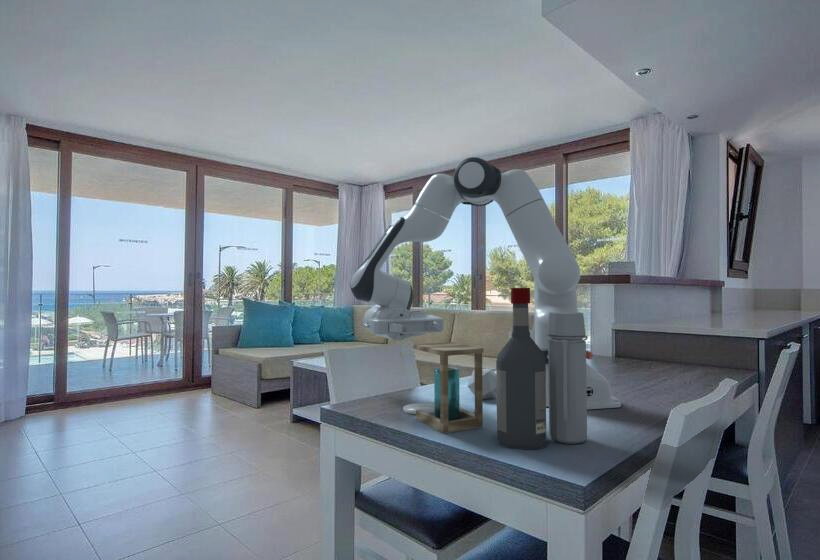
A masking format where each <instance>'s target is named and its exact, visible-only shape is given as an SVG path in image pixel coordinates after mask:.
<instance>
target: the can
mask: <svg viewBox="0 0 820 560" xmlns="http://www.w3.org/2000/svg"><path fill="white" fill-rule="evenodd" d="M433 370H434V371H433V373H434V376H433V377H434V378H433V379H434V381H433V382H434V383H433V385H434V389H433V390H434V394H433V395H434V396H433V397H434V406H435V414H434V416H435V417H437V418H439V419H440V365H439V366H435V367H434V369H433ZM460 396H461V395H460V367H458V366H454V365H448V421H452V420H459V419H460V409H461V404H460V401H461V400H460Z"/></svg>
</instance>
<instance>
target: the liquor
mask: <svg viewBox="0 0 820 560" xmlns="http://www.w3.org/2000/svg"><path fill="white" fill-rule="evenodd" d="M510 304H512V331H511V337H510V338H509V339H508V341H507V342H506V343H505V344H504V346H503V347H502V348H501V350H500V352H499V353H498V355H497V357H496V362H495V366H496V367H495V368H496V369H495V370H496V371H495V374H496V385H497V396H496V440H497V442H498V444H499V445H501V446H504V447H505V448H508V449H519V450H520V449H521V450H531V451H535V450H539V449H544V448H545V447H546V445H547V406H546V362H545V357H544V354H543V352H542V351H541V349H540V348H539V347H538V346H537V344H536V343H535V340H533V338H532V337H531V332H530V325H529V323H530V322H529V321H530V319H529V316H530V315H529V305H530V304H531V287H511V288H510Z"/></svg>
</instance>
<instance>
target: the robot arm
mask: <svg viewBox="0 0 820 560" xmlns="http://www.w3.org/2000/svg"><path fill="white" fill-rule="evenodd" d="M455 167H456V168H455V169H454V173H453V175H449V174H446V173H435V174H432V176H431V177H430V178H429V179H428V180H427V181H426V183H425V185H424V186H423V188H422V189H421V191H420V193H419V194H418V196H417V198H416V200H415V203H414V204H413V206H412V207H411V209H410V210H409V212H407V213H406V214H405V215H404V216H401V217H400V216H399V217H397V218H395V219H394V220H393V221H392V222H391V223H390V224H389V226H388V227H387V228H386V230H385V231H384V233H383V234H382V236H381V237H380V238H379V240H378V241H377V243H375V245H374V247H373V249H372V250H371V251H370V253H369V255H368V256H367V257H366V258H365V260H364V261H363V263H362V264H361V265H360V266H359V267H358V268H357V269H356V270H355V272H354V273H353V275H352V277H351V280H350V283H349V288H350V291H351V293H352V295H353V296H354V298H355V299H356V300H358V301H362V302H367V303H370V304H374V305H373V307H371V308H368V310H366V311H365V313H364V315H363V328H365V329H367V331H368V332H369V333H370V334H373V335H374V336H377V337H379V338H380V337H381V338H385V339H388V340H393V341H398V342H399V341H403V340H405V339H409V338H412V337H418V336H423V335H426V334H430V333H431V334H432V333H433V334H435V333H442V332H444V330H445V329H444V326H445V321H444V319H443V317H440V316H437V315H432V314H427V313H426V311H420V310H417V311H415V310H411V308H412V306H413V302H414V296H415V295H414V290H413V287H412V284H411V283H410V282H409V281H408V280H405V279H403V278H401V277H398V276H396V275H393V274H390V273H388V272H385V271H382V270H381V268H382V267H383V265H384V264H385V263H386V261H387V260H388V258H389V257H390V255H391V253H392V252H393V251H394V249H396V247H397V246H399V245H400V244H403V243H409V242H410V243H411V242H412V243H413V242H415V243H425V242H431V241H435V240H436V239H438V238H439V237H440V236H442V234H443V233H444V232H445V230H446V229H447V226H448V224H449V223H450V220H451V218H452V216H453V214H454V212H455V210H456V209H457V207H458V206H459V205H460V204H463V205H467V206H474V207H475V206H476V207H482V206H483V207H484V206H488V205H491V203H493V202H495V203H497V205H498V206H499V208H500V209H501V212H502V214H503V217H504V218H505V220H506V223H507V224H508V227H509V229H510V231H511V233H512V236H513V237H514V239H515V241H516V244H517V245H518V248H519V249H520V252H521V254H522V255H523V258H524V260H525V261H526V264H527V266H528V269H529V270H530V272H531V274H532V276H533V286H534V287H533V290H534V292H533V294H534V297H533V298H534V304H533V305H534V342H535V343H536V344H537V346H538V347H539V348H540V349H541V351H542V352H543V354H544V357H545V362H546V408H547V407H548V408H549V380H548V339H547V338H546V335H548V334H547V327H548V316H549V312H579V311H578V299H577V298H578V297H577V285H578V284H579V282H580V279H581V269H580V265H579V264H578V261H577V259H576V258H575V255H574V254H573V252H572V250H571V248H570V247H569V245H568V243H567V241H566V240H565V238H564V236H563V234H562V232H561V231H560V229H559V227H558V226H557V224H556V221H555V220H554V217H553V216H552V214H551V211H550V210H549V207H548V206H547V203H546V202H545V200H544V197H543V196H542V193H541V192H540V190H539V189H538V187H537V185H536V183H535V182H534V180H533V179H532V177H530V175H529V174H528V173H527V172H526V171H525V170H523V169H519V168H517V169H516V168H515V169H510V170H507V171H505V172H504V173H502V171H501V169H499V168H498V167H496V166H494V165H493V164H492V163H490V162H488V161H487V160H486V159H484V158H481V157H475V156H474V157H473V156H472V157H471V156H470V157H467V158H465V159H463V160H462V161H460V162H459V163H458V165H457V166H455ZM548 338H550V337H548ZM550 339H551V338H550ZM593 358H594V353H593V351H589V350H586V360H593ZM586 389H587V411H588V410H597V409H614V408H621V406H622V404H621V400H620V399H618V398H617V397H615V396H613V395H612V390H611V387H610V383H609V381H608V380H607V378H606V377H605V376H604V375H602V374H601V373H599V372H598V371H597V370H596V369H595V368H593V367H592V366H591V365H590V364H588V363H587V362H586Z"/></svg>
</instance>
